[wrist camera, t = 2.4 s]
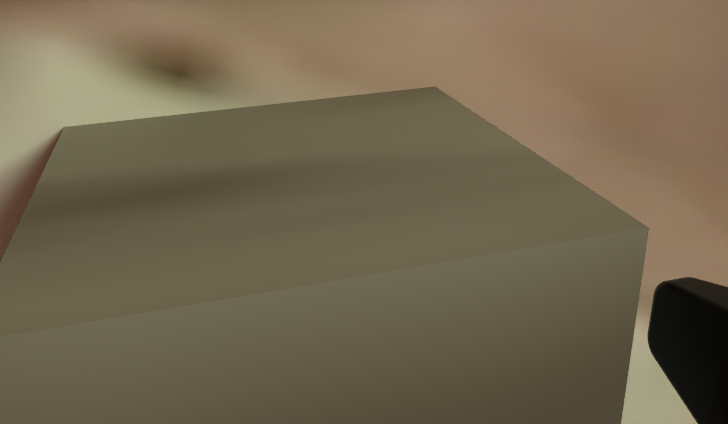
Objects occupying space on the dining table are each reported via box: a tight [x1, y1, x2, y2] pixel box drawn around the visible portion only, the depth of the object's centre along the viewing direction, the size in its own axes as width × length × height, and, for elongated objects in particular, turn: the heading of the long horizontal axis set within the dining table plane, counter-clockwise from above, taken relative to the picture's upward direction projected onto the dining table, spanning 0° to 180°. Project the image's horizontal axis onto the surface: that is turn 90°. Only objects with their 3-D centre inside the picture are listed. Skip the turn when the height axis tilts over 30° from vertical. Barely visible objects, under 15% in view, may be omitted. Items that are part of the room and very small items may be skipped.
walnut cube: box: [0, 87, 649, 424], centre depth 8 cm, size 5×5×5 cm
